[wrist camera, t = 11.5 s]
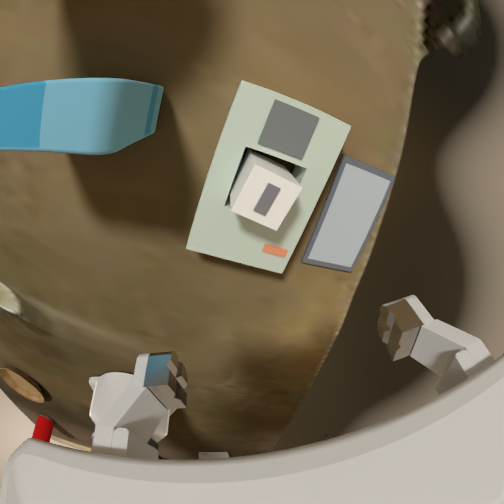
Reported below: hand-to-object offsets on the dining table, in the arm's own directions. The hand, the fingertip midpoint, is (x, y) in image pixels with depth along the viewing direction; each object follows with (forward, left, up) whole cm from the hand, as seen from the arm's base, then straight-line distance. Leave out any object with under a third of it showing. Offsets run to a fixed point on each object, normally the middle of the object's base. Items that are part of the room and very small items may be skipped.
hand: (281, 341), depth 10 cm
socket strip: (+1, -1, -20) cm, 20 cm away
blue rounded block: (+4, +16, -20) cm, 26 cm away
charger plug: (+1, -1, -20) cm, 20 cm away
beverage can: (-88, +40, -20) cm, 98 cm away
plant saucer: (-61, +40, -20) cm, 75 cm away
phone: (0, -12, -20) cm, 23 cm away
